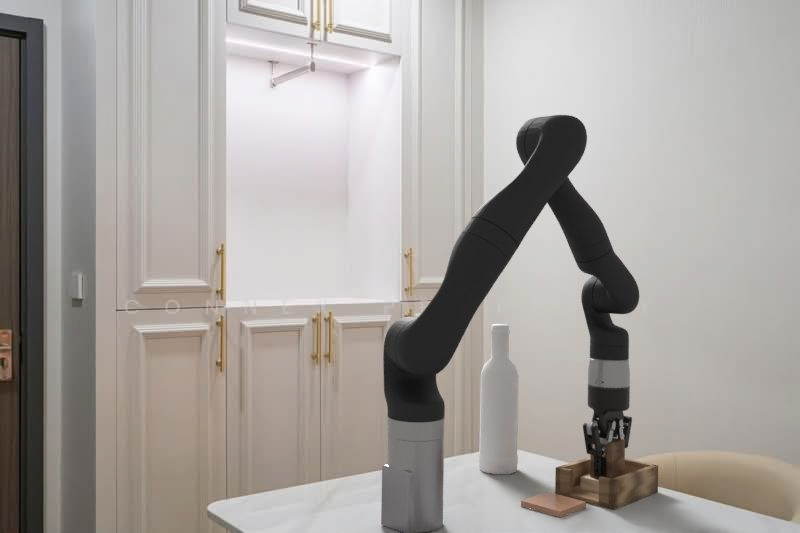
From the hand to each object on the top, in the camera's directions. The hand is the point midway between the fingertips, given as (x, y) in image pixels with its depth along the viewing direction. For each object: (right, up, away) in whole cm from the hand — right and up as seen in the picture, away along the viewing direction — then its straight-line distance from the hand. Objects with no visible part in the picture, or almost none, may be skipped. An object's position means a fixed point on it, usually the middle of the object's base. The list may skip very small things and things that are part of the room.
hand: (607, 474), depth 142 cm
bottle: (-18, -4, +16) cm, 24 cm away
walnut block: (0, -1, 0) cm, 1 cm away
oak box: (0, -4, 0) cm, 4 cm away
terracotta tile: (-12, -3, -9) cm, 15 cm away
